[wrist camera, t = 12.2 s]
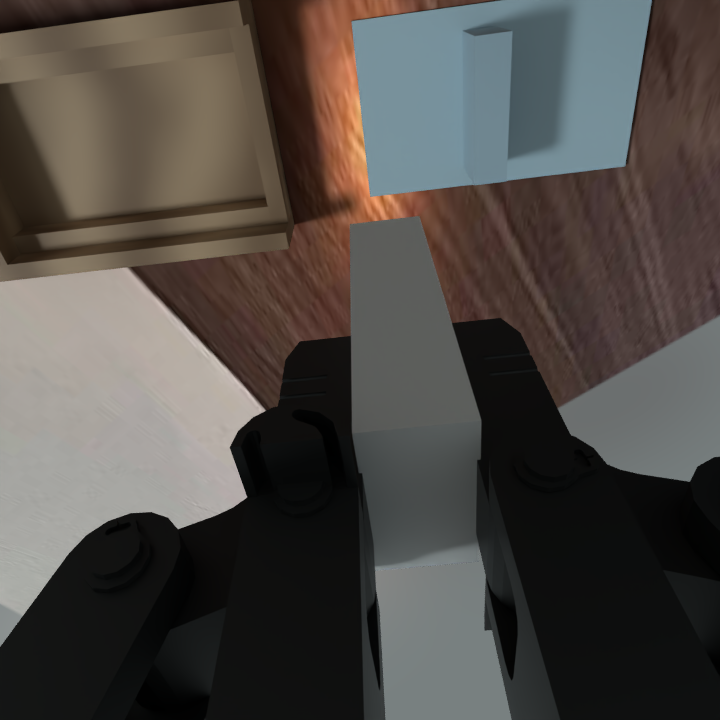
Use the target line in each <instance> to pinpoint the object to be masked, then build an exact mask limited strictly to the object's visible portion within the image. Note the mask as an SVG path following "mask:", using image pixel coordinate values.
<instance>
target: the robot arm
mask: <svg viewBox="0 0 720 720" xmlns="http://www.w3.org/2000/svg"><path fill="white" fill-rule="evenodd" d="M350 282H351V336H347V337H338V338H329V339H319V340H310V341H301V342H299V343H298V345H297V346H296V347H295V348H294V350H293V351H292V352H291V354H290V355H289V356H288V357H287V359H286V360H285V367H284V373H283V379H282V380H283V383H282V385H281V391H280V400H279V403H278V407H273V408H271V409H269V410H267V411H265V412H263V413H261V414H259V415H257V416H255V417H253V418H252V419H251V420H250V421H249V422H248V423H247V424H246V425H244V426H243V427H242V428H241V429H240V430H239V431H238V433H237V435H236V436H235V438H234V440H233V442H232V444H231V446H230V449H231V452H232V455H233V458H234V461H235V463H236V466H237V469H238V472H239V475H240V478H241V480H242V483H243V486H244V489H245V492H246V495H247V498H246V499H245V500H243V501H242V502H240V503H239V504H238V505H236V506H235V507H233V508H231V509H229V510H227V511H225V512H223V513H221V514H219V515H216V516H214V517H211V518H208V519H205V520H203V521H200V522H197V523H195V524H192V525H189V526H186V527H184V528H181V529H177V528H176V527H175V526H174V524H173V523H172V522H171V521H170V520H169V519H168V518H167V517H164V516H161V515H158V514H155V513H152V512H146V513H130V514H127V515H125V516H122V517H119V518H116V519H113V520H111V521H108V522H106V523H105V524H103V525H102V526H100V527H99V528H97V529H95V530H94V531H92V532H91V533H89V534H88V535H86V536H85V537H84V538H83V540H82V541H81V542H80V543H79V544H78V545H77V546H76V547H75V548H74V549H73V550H72V551H71V552H70V553H69V554H68V556H67V557H66V558H65V560H64V561H63V562H62V564H61V565H60V567H59V568H58V569H57V571H56V572H55V573H54V575H53V576H52V577H51V579H50V580H49V581H48V583H47V584H46V586H45V587H44V588H43V590H42V591H41V592H40V594H39V595H38V596H37V598H36V599H35V600H34V602H33V603H32V605H31V606H30V607H29V609H28V610H27V611H26V613H25V614H24V615H23V617H22V618H21V619H20V621H19V622H18V624H17V625H16V626H15V628H14V629H13V630H12V632H11V633H10V634H9V636H8V637H7V638H6V640H5V641H4V643H3V644H2V645H1V647H0V720H385V706H384V686H383V668H382V649H381V632H380V612H379V605H378V599H377V594H376V583H375V571H376V570H389V569H401V568H413V567H424V566H436V565H448V564H458V563H471V562H478V561H479V548H480V552H481V556H482V561H483V565H484V569H485V574H486V586H485V614H484V617H485V630H492V632H493V636H494V640H495V645H496V650H497V654H498V659H499V664H500V668H501V673H502V676H503V681H504V686H505V691H506V695H507V700H508V705H509V709H510V713H511V718H512V720H720V457H714V458H712V459H710V460H709V461H707V462H705V463H703V464H701V465H700V466H698V467H697V469H696V471H695V473H694V475H693V477H692V479H691V481H690V482H687V481H680V480H674V479H667V478H661V477H654V476H648V475H641V474H636V473H632V472H628V471H623V470H620V469H617V468H615V467H612V466H610V465H607V464H606V462H605V461H604V460H603V459H602V458H601V456H600V455H599V454H598V453H597V452H596V450H595V449H594V448H593V447H591V446H589V445H588V444H586V443H584V442H583V441H581V440H579V439H578V438H576V437H574V436H571V434H570V433H569V431H568V429H567V427H566V425H565V423H564V421H563V419H562V417H561V415H560V413H559V411H558V409H557V407H556V405H555V402H554V400H553V398H552V396H551V394H550V392H549V390H548V388H547V386H546V384H545V382H544V380H543V378H542V376H541V374H540V372H538V371H537V366H536V364H535V362H534V360H533V358H532V356H531V355H530V352H529V350H528V347H527V345H526V343H525V341H524V339H523V337H522V335H521V333H520V332H519V331H517V330H516V329H515V328H513V327H512V326H510V325H509V324H508V323H506V322H505V321H504V320H502V319H501V318H496V319H487V320H477V321H468V322H459V323H452V322H451V319H450V316H449V312H448V309H447V306H446V303H445V299H444V296H443V293H442V289H441V286H440V283H439V280H438V276H437V273H436V270H435V266H434V263H433V260H432V257H431V253H430V250H429V247H428V243H427V240H426V237H425V234H424V230H423V227H422V224H421V221H420V217H419V216H416V217H408V218H399V219H391V220H382V221H374V222H366V223H357V224H350Z"/></svg>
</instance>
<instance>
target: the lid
mask: <svg viewBox="0 0 720 720" xmlns="http://www.w3.org/2000/svg"><path fill="white" fill-rule="evenodd" d="M651 3H652V0H500V1H493V2H485V3H478V4H471V5H464V6H457V7H449V8H442V9H435V10H428V11H421V12H413V13H406V14H399V15H392V16H385V17H377V18H370V19H363V20H356V21H352V30H353V39H354V48H355V58H356V67H357V76H358V86H359V95H360V105H361V114H362V123H363V133H364V142H365V151H366V161H367V170H368V180H369V189H370V197H373V196H381V195H389V194H398V193H406V192H414V191H423V190H431V189H439V188H448V187H456V186H464V185H473V184H474V185H480V184H489V183H497V182H506V181H507V180H515V179H523V178H531V177H540V176H548V175H556V174H565V173H573V172H581V171H590V170H598V169H606V168H615V167H623V166H625V164H626V158H627V151H628V145H629V139H630V133H631V127H632V120H633V114H634V108H635V102H636V96H637V90H638V83H639V77H640V71H641V65H642V59H643V52H644V46H645V40H646V34H647V28H648V21H649V15H650V9H651Z"/></svg>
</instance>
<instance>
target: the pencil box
mask: <svg viewBox="0 0 720 720" xmlns="http://www.w3.org/2000/svg"><path fill="white" fill-rule="evenodd" d="M293 229H294V220H293V215H292V210H291V205H290V199H289V194H288V189H287V184H286V179H285V174H284V168H283V163H282V158H281V153H280V148H279V142H278V137H277V132H276V127H275V122H274V116H273V111H272V106H271V101H270V96H269V91H268V85H267V80H266V75H265V70H264V65H263V59H262V54H261V49H260V44H259V39H258V33H257V28H256V23H255V18H254V13H253V8H252V2H251V0H235V1H228V2H221V3H214V4H207V5H200V6H193V7H186V8H179V9H171V10H164V11H157V12H150V13H143V14H136V15H129V16H122V17H115V18H107V19H100V20H93V21H86V22H79V23H72V24H65V25H58V26H51V27H43V28H36V29H29V30H22V31H15V32H8V33H1V34H0V282H2V281H11V280H20V279H28V278H37V277H46V276H55V275H63V274H72V273H81V272H90V271H98V270H107V269H116V268H125V267H133V266H142V265H151V264H160V263H168V262H177V261H186V260H195V259H203V258H212V257H221V256H230V255H238V254H247V253H256V252H265V251H274V250H282V249H289V246H290V242H291V238H292V233H293Z"/></svg>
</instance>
